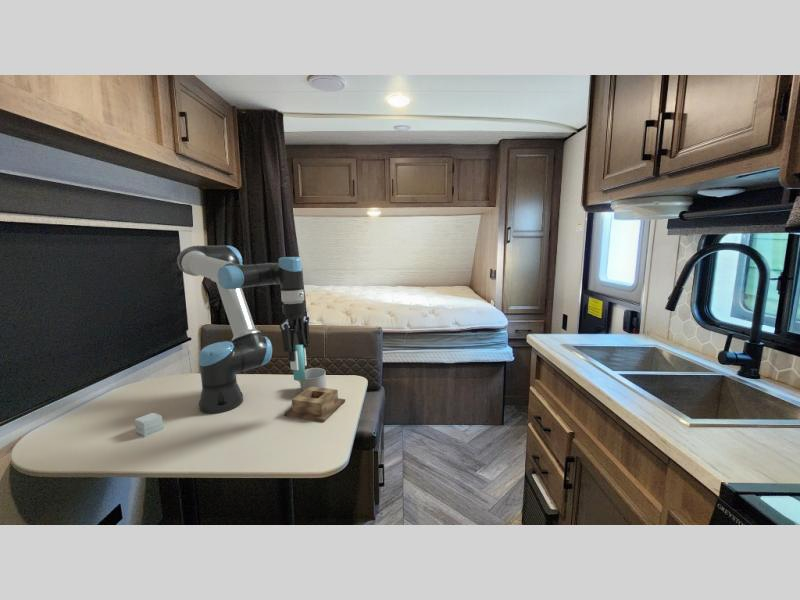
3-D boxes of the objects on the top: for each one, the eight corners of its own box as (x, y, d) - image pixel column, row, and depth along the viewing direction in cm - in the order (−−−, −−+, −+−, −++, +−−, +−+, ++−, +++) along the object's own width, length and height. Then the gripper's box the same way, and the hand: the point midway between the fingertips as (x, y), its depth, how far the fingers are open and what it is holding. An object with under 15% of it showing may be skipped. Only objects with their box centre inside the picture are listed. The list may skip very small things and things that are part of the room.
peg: (291, 379, 120) (288, 346, 118) (298, 375, 124) (295, 343, 122) (300, 381, 118) (298, 347, 117) (307, 377, 122) (305, 344, 120)
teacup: (332, 388, 144) (331, 370, 143) (312, 398, 135) (311, 379, 134) (308, 382, 151) (307, 364, 150) (289, 391, 142) (287, 372, 141)
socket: (284, 415, 122) (283, 401, 121) (309, 396, 137) (308, 383, 136) (324, 422, 117) (323, 407, 116) (345, 401, 132) (344, 388, 131)
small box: (164, 429, 114) (162, 415, 113) (144, 437, 109) (142, 423, 108) (155, 425, 117) (153, 411, 116) (135, 433, 112) (133, 419, 111)
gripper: (286, 306, 108) (292, 376, 111) (317, 298, 124) (321, 360, 127) (267, 305, 111) (273, 374, 114) (299, 298, 126) (304, 359, 130)
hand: (298, 367), depth 120 cm, fingers closed on peg, 4 cm apart
